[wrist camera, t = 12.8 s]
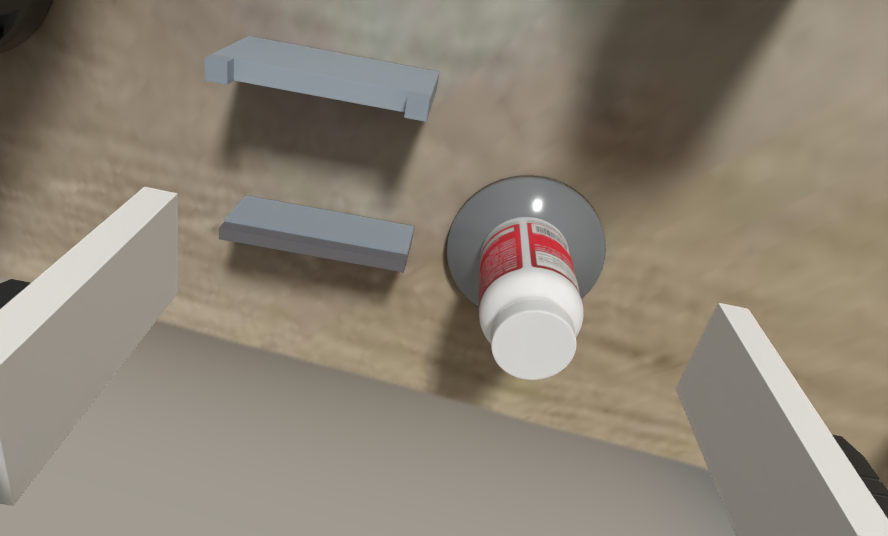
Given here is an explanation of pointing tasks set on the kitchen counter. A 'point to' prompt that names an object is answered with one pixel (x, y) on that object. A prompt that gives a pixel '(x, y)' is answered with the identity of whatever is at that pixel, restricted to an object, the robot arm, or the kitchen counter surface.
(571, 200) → the coaster
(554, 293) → the pill bottle
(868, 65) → the kitchen counter surface
